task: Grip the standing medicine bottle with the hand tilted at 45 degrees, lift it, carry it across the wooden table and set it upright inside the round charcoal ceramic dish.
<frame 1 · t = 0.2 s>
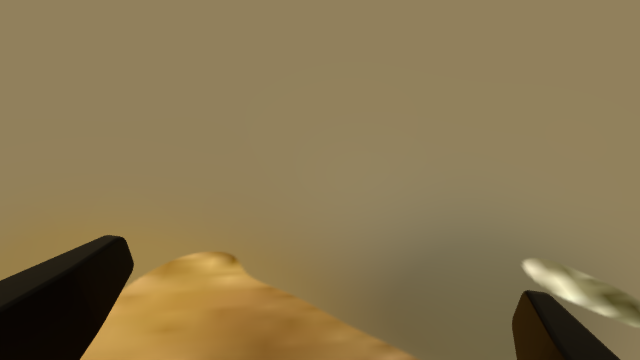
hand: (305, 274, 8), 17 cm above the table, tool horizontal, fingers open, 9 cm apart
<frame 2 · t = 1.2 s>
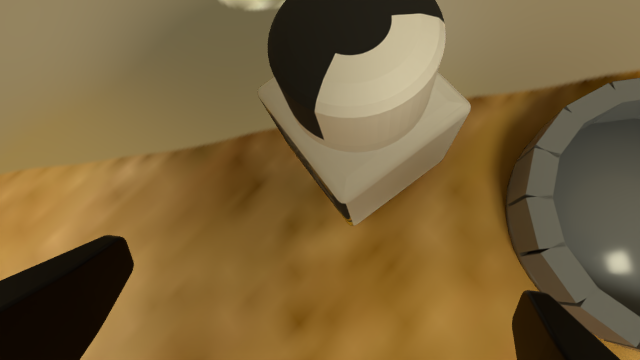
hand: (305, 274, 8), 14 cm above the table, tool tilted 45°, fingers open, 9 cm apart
medicine bottle: (362, 152, 23), on the table
round dish: (638, 218, 20), on the table
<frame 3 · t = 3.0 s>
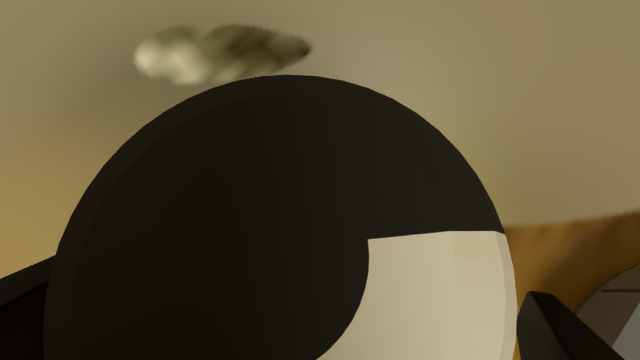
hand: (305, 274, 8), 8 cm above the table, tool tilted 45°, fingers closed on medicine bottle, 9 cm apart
medicine bottle: (329, 307, 15), on the table, touching gripper
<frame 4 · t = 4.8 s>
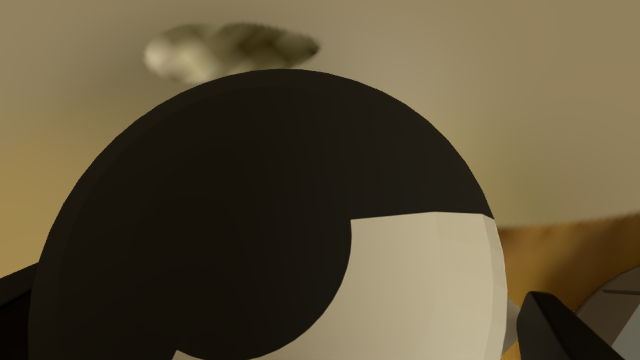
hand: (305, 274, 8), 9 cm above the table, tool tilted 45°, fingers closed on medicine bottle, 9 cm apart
medicine bottle: (332, 320, 15), point 1 cm above the table, touching gripper
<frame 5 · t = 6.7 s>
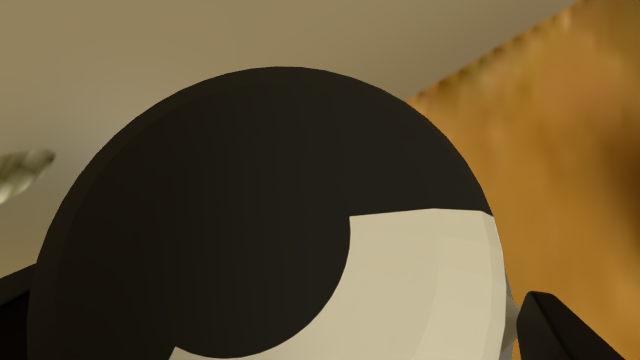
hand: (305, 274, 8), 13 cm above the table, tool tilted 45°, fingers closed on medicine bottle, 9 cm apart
medicine bottle: (332, 319, 15), point 6 cm above the table, touching gripper
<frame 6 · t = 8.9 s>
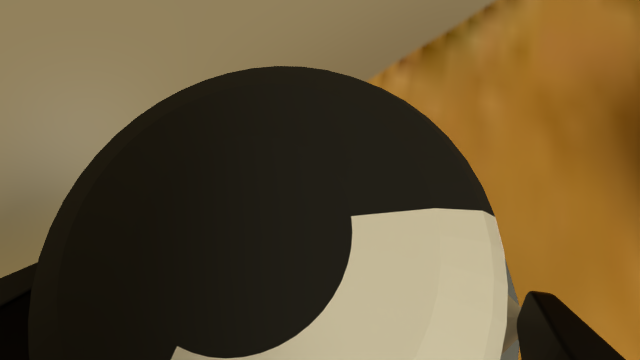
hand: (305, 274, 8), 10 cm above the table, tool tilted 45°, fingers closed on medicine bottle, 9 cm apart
medicine bottle: (332, 319, 15), point 2 cm above the table, touching gripper
round dish: (339, 301, 17), on the table
when the fingers open (10 cm above the table, at t = 10.1 s): medicine bottle drops 2 cm, resting on round dish.
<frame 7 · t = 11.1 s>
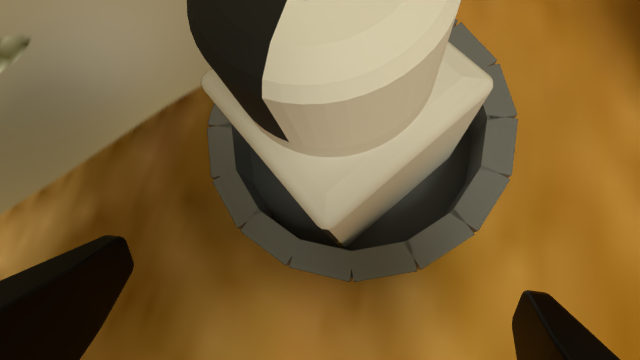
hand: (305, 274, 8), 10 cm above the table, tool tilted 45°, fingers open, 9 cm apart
medicine bottle: (350, 152, 19), resting on round dish
round dish: (356, 146, 19), on the table
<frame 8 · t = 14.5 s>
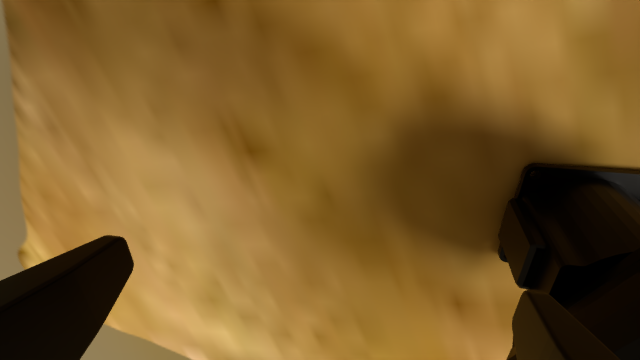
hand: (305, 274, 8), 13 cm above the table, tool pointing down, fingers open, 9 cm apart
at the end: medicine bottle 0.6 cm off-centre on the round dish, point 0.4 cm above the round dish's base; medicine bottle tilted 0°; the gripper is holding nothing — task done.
